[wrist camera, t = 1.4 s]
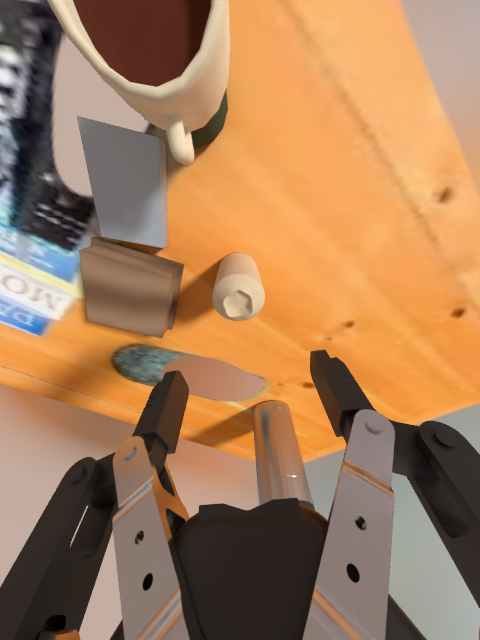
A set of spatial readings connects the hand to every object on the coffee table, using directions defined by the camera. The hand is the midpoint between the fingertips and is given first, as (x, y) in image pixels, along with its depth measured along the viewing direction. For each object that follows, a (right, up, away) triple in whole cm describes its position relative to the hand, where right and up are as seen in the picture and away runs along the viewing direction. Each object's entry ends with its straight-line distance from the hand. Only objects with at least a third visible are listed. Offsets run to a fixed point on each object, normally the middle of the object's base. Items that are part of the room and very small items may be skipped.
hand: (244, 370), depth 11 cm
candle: (-1, +10, +15) cm, 18 cm away
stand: (-15, +8, +16) cm, 24 cm away
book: (-12, +18, +10) cm, 24 cm away
